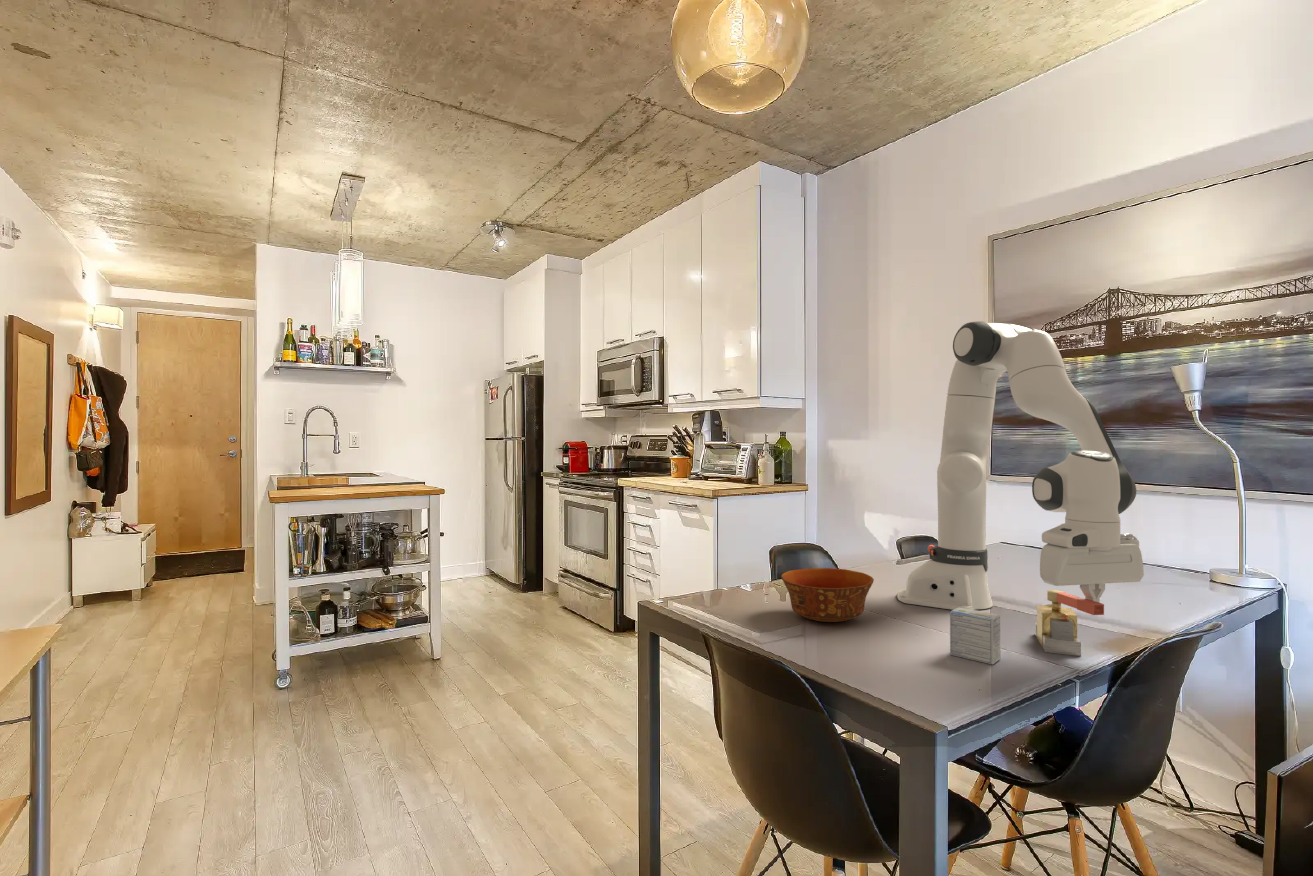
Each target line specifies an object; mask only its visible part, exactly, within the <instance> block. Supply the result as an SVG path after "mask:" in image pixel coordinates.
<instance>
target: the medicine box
mask: <svg viewBox="0 0 1313 876" xmlns="http://www.w3.org/2000/svg"><path fill="white" fill-rule="evenodd" d="M949 650H950V651H949V654H950V655H951V656H954V657H958V658H961V659H962V658H963V659H968V660H972V661H977V662H979V663H985V664H988V665H994V664H996V663H997V662H999V660H1001V656H1002V655H1001V615H999V614H997V613H992V612H987V611H981V610H977V609H976V610H971V609H965V608H956V609H954V610H951V611H950V612H949Z"/></svg>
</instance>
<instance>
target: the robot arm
mask: <svg viewBox="0 0 1313 876" xmlns="http://www.w3.org/2000/svg"><path fill="white" fill-rule="evenodd" d="M952 350H953V354H954V357H955V358H956V361H955V363H954V364H953V368H952V372H951V374H950V379H949V382H948V387H947V393H946V403H945V411H944V420H943V427H942V439H941V447H940V448H941V451H940V459H939V464H938V465H937V468H936V469H937V470H936V475H937V476H936V477H937V478H936V479H937V481H936V486H937V491H936V492H937V521H938V522H937V545H933V544H929V545H928V546H927V551H928V553H929V559H928V560H927V561H926V562H924V563H923V564H921V565H920V566H919V567H917V568H915V569H914V570H912V571H910V573H909V574H908V578H907V580H906V585H905V588H901V589H900V590H898V591H897V596H896V598H897V600H898V601H900V602H901V603H904V604H909V605H916V606H917V605H918V606H924V607H931V608H937V609H939V608H940V609H946V610H951V611H952V610H954V609H956V608H965V609H971V610H976V611H977V610H985V609H990V608H993V605H994V604H993V600H992V597H991V593H990V588H989V582H988V576H987V575H988V573H987V572H988V569H989V552H988V549H987V547H986V546H987V542H986V541H987V537H986V535H987V534H986V533H987V530H986V529H987V528H986V526H987V522H986V521H987V514H986V513H987V512H986V511H987V469H986V468H987V461H988V454H989V446H990V438H991V435H992V434H991V433H992V427H993V426H992V425H993V419H994V410H995V402H996V392H997V384H998V380H999V378H1000V377H1001V376H1002V375H1003V374H1004V373H1006V374H1007V377H1008V378H1007V379H1008V383H1009V387H1010V393H1011V396H1012V398H1013V401H1014V403H1015V405H1016V406H1017V407H1018V408H1019V409H1020V410H1021V411H1023V412H1024V413H1026V414H1028V415H1030V416H1032V417H1034V418H1037V419H1042V420H1045V421H1049V422H1051V423H1054V424H1055V425H1058V426H1060V427H1063V428H1064V429H1066V430H1068V431H1069V432H1070V433H1072V434H1073V436H1074V437H1075V438H1076V441H1077V442H1078V446H1079V447H1080V450H1074V451H1071V452H1070V453H1068V455H1067V457H1066V458H1065V459H1064V460H1063V461H1061V462H1059V463H1057V464H1054V465H1051V466H1049V467H1042V468H1041V469H1040V470H1039V471H1038V472H1037V473H1036V474H1035V476H1034V478H1033V479H1032V484H1031V491H1032V497H1033V500H1034V501H1035V502H1036V504H1037V505H1038V506H1039V507H1040V508H1042V509H1043V510H1045V511H1048V512H1052V513H1065V517H1064V523H1061V524H1060V525H1056V526H1055V527H1053V528H1051V529H1048V530H1045V531H1043V532H1042V533H1041V541H1042V542H1043V543H1045V545H1044V546H1042V548H1041V550H1040V556H1039V557H1040V558H1039V576H1040V578H1041V580H1042V581H1043V583H1045V584H1048V585H1052V586H1055V587H1062V586H1063V587H1064V586H1065V587H1066V586H1079V588H1080V590H1081V592H1082V594H1083V595H1084V599H1089V600H1092V601H1096V602H1099V603H1101V601H1100V599H1101V597H1102V595H1103V594H1104V592H1105V590H1106V584H1122V583H1124V584H1125V583H1136V582H1137V583H1140V582H1142V579H1143V578H1144V575H1145V573H1144V561H1143V555H1142V551H1141V549H1140V541H1139V539H1138V538H1137V536H1134V535H1133V534H1132V533H1123V534H1122V533H1121V517H1120V515H1121V514H1122V513H1124V512H1125V511H1126V510H1127V509H1129V508H1130V506H1132V504H1133V502H1134V501H1135V500H1136V496H1137V486H1136V483H1135V479H1134V478H1133V477H1132V475H1131V474H1130V472H1129V471H1128V469H1127V468H1126V467H1125V465H1124V464H1123V463H1122V460H1121V459H1120V456H1119V455H1118V453H1117V451H1116V448H1115V447H1114V444H1113V443H1112V440H1111V438H1110V436H1109V433H1108V432H1107V430H1106V427H1105V425H1104V424H1103V421H1102V420H1101V417H1100V415H1099V413H1098V410H1097V409H1096V407H1095V406H1094V405H1093V403H1092V401H1090V399H1088V398H1086V397H1085V396H1084V395H1082V394H1081V393H1080V392H1079V391H1078V390H1077V388H1076V387H1075V386H1074V385H1073V383H1072V381H1071V380H1070V378H1069V376H1068V373H1067V370H1066V367H1065V363H1064V360H1063V358H1062V354H1061V353H1060V350H1059V348H1058V346H1057V343H1056V342H1055V341H1054V339H1053V337H1052V336H1051V335H1050V334H1049V333H1048V332H1046V331H1043V330H1039V329H1036V328H1032V327H1029V326H1022V325H1017V324H1013V323H1007V322H1002V323H1000V322H986V321H982V320H981V321H980V320H979V321H970V322H967V323H963V325H961V327H960V328H959V329H958V330H957V332H956V333H955V335H954V338H953V341H952Z"/></svg>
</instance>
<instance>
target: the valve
mask: <svg viewBox="0 0 1313 876" xmlns="http://www.w3.org/2000/svg"><path fill="white" fill-rule="evenodd" d="M1036 605H1037V606H1036V621H1034V636H1035V637H1036V640H1038V642H1039V644H1040V646H1041V648H1042V649H1043V651H1044V653H1050V654H1059V655H1067V656H1077V657H1082V641H1080V639H1079V638H1078V615H1077V614H1076V612H1074V611H1073V609H1072V607H1071V608H1070V607H1062V603H1059V602H1052V601H1051V603H1048V604H1045V605H1038V604H1036Z"/></svg>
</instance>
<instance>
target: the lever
mask: <svg viewBox="0 0 1313 876" xmlns="http://www.w3.org/2000/svg"><path fill="white" fill-rule="evenodd" d="M1046 592H1047V598H1046V599H1047V601H1048V602H1051V603H1052V602H1059V603H1061V605H1066V606H1068V607H1069V608H1070V607H1071V608H1073V609H1076V610H1077V611H1080V612H1083V613H1086V614H1088V615H1091V616H1105V604H1104V603H1101V602H1100V603H1099V602H1096V601H1092V600H1089V599H1085V598H1082V597H1080V596H1078V595H1077V596H1076V595H1074V594H1070V593H1067V592H1066V591H1064V590H1063V591H1062V590H1060V589H1059V590H1057V589H1048V590H1047V591H1046Z"/></svg>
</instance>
